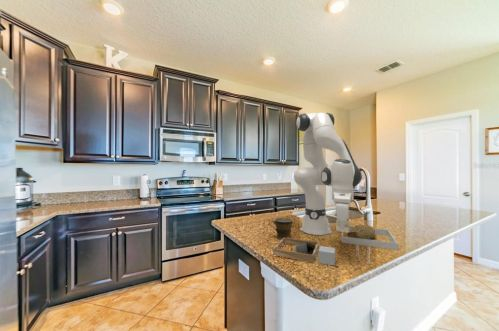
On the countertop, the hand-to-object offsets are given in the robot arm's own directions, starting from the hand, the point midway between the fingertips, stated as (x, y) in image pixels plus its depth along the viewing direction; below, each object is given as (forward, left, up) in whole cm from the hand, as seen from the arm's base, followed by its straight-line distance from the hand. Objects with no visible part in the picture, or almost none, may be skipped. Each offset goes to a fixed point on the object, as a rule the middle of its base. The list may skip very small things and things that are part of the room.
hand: (342, 226), depth 95 cm
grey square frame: (-28, +11, -12) cm, 33 cm away
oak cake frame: (+6, -19, -12) cm, 24 cm away
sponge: (-29, +9, -13) cm, 33 cm away
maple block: (0, 0, -2) cm, 2 cm away
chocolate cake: (+6, -16, -13) cm, 21 cm away
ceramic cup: (-11, -32, -13) cm, 36 cm away
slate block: (+11, -6, -12) cm, 17 cm away
